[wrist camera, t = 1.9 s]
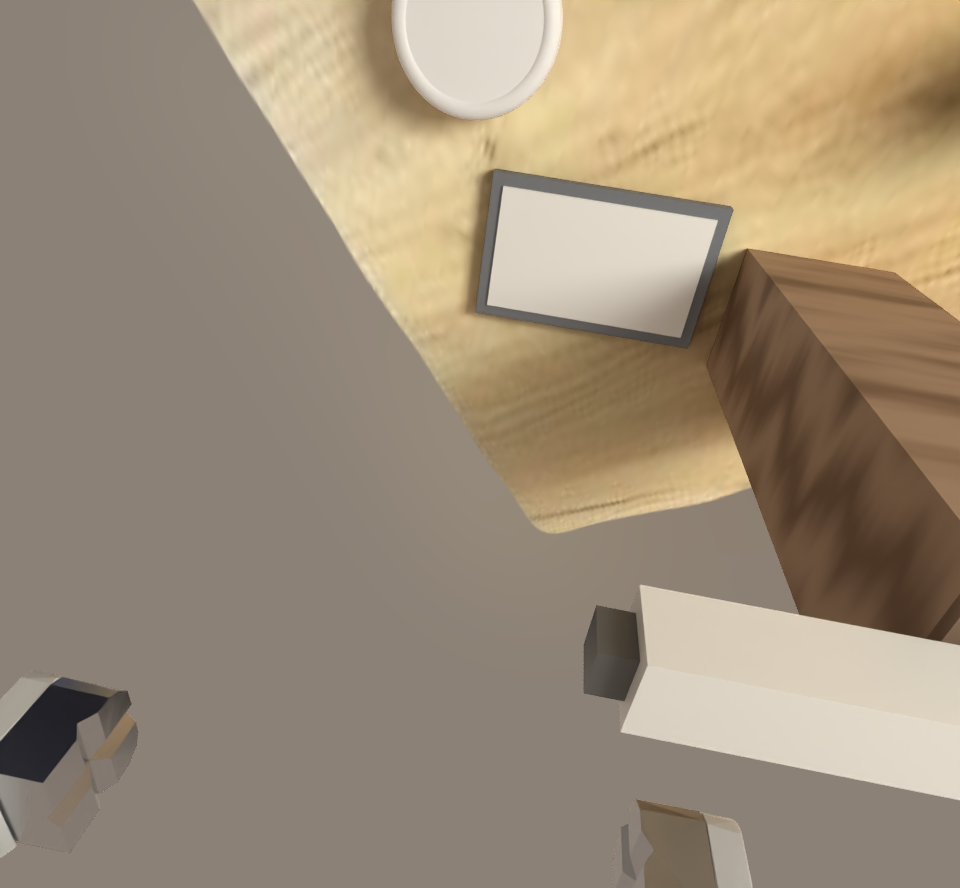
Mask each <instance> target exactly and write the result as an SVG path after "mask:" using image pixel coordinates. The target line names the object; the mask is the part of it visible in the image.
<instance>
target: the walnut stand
mask: <svg viewBox="0 0 960 888" xmlns="http://www.w3.org/2000/svg"><path fill="white" fill-rule="evenodd" d="M706 366H707V369H708V371H709V374H710V377H711V379H712V382H713V385H714V387H715V390H716V393H717V396H718V398H719V401H720V404H721V406H722V409H723V412H724V414H725V417H726V420H727V422H728V425H729V428H730V430H731V433H732V436H733V438H734V441H735V444H736V446H737V449H738V452H739V454H740V457H741V460H742V462H743V465H744V468H745V470H746V473H747V476H748V478H749V481H750V484H751V486H752V489H753V492H754V494H755V497H756V499H757V502H758V505H759V508H760V510H761V513H762V516H763V518H764V521H765V524H766V526H767V529H768V532H769V534H770V537H771V540H772V542H773V545H774V548H775V550H776V553H777V556H778V559H779V561H780V564H781V567H782V569H783V572H784V574H785V577H786V580H787V582H788V585H789V588H790V590H791V593H792V596H793V599H794V601H795V604H796V607H797V609H798V612H799V615H802V616H808V617H813V618H818V619H823V620H829V621H834V622H839V623H845V624H850V625H855V626H860V627H866V628H871V629H876V630H881V631H887V632H892V633H897V634H903V635H908V636H913V637H918V638H924V639H929V640H934V641H939V642H945V643H950V644H955V645H960V321H959V320H957V319H956V318H955V317H953V316H952V315H951V314H949V313H948V312H947V311H945V310H944V309H943V308H941V307H940V306H939V305H937V304H936V303H935V302H933V301H932V300H931V299H929V298H928V297H927V296H925V295H924V294H923V293H921V292H920V291H919V290H917V289H916V288H915V287H913V286H912V285H911V284H909V283H908V282H907V281H905V280H904V279H903V278H901V277H900V276H899V275H897V274H896V273H894V272H888V271H882V270H876V269H870V268H864V267H857V266H851V265H845V264H839V263H833V262H827V261H821V260H815V259H808V258H802V257H796V256H790V255H784V254H778V253H772V252H766V251H760V250H753V249H747V251H746V254H745V257H744V260H743V263H742V266H741V269H740V271H739V274H738V277H737V280H736V283H735V286H734V289H733V291H732V294H731V297H730V300H729V303H728V306H727V308H726V311H725V314H724V317H723V320H722V323H721V326H720V328H719V331H718V334H717V337H716V340H715V343H714V346H713V348H712V351H711V354H710V357H709V360H708V363H707V365H706Z"/></svg>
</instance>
